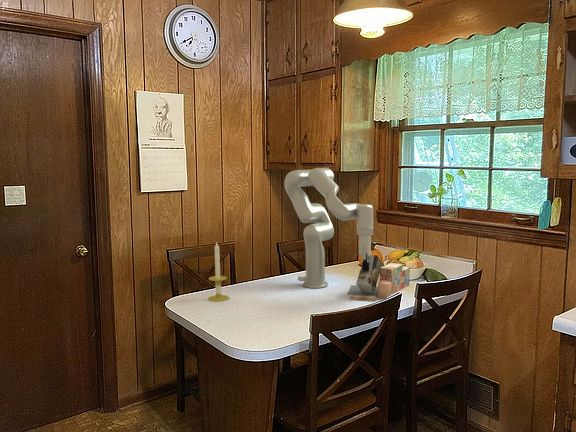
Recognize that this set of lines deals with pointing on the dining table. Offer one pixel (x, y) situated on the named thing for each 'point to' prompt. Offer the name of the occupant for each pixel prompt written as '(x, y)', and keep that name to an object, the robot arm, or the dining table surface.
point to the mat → (356, 291)
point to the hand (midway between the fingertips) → (365, 270)
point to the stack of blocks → (395, 276)
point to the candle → (218, 279)
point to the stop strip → (363, 298)
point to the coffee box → (369, 275)
